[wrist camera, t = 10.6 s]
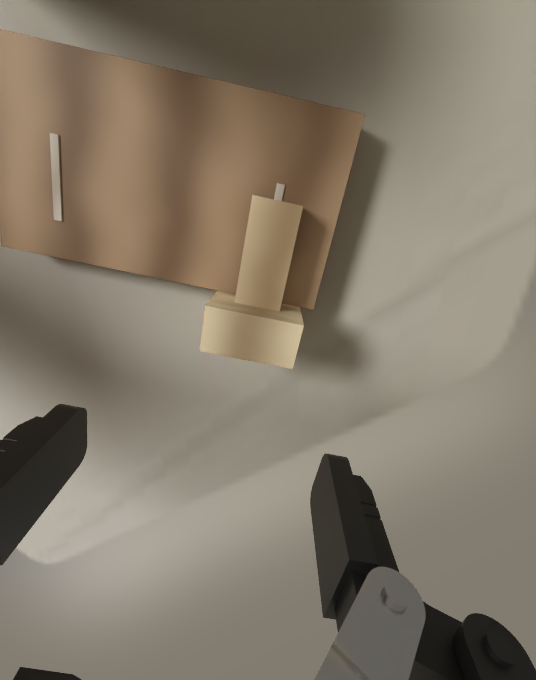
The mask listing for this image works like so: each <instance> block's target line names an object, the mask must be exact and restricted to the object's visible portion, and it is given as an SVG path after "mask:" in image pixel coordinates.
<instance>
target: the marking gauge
mask: <svg viewBox="0 0 536 680" xmlns="http://www.w3.org/2000/svg"><path fill="white" fill-rule="evenodd" d="M302 209H303V206H301V205H296V204H292V203H287V202H283V201H278V200H273V199H269V198H264V197H260V196H255V195H252V200H251V206H250V212H249V218H248V224H247V230H246V236H245V242H244V248H243V254H242V260H241V266H240V272H239V278H238V284H237V290H236V294H233V293H228V292H223V291H218V290H217V291H216V293H215V294H214V295H213V297H212V298H211V299H210V300H209V302H208V303H207V304H206V306H205V313H204V320H203V328H202V335H201V343H200V351H203V352H208V353H213V354H218V355H223V356H228V357H233V358H238V359H243V360H248V361H254V362H259V363H264V364H269V365H274V366H279V367H284V368H289V369H293V366H294V362H295V358H296V354H297V351H298V347H299V343H300V339H301V335H302V331H303V327H304V323H303V319H302V314H301V309H300V307H296V306H292V305H287V304H282V299H283V294H284V290H285V285H286V281H287V276H288V272H289V267H290V263H291V258H292V254H293V250H294V245H295V241H296V236H297V232H298V227H299V223H300V218H301V214H302Z"/></svg>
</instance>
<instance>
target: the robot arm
mask: <svg viewBox="0 0 536 680" xmlns="http://www.w3.org/2000/svg"><path fill="white" fill-rule="evenodd" d="M86 449H87V411H86V409H85V408H81V407H75V406H70V405H64V404H59V405H57V406H56V407H54V408H53V409H52V410H51V411H50V412H49V413H48V414H46V415H45V416H44V417H35V418H33V419H31V420H28V421H26V422H24V423H22V424H20V425H18V426H17V427H16V428H14V429H13V430H12V431H11V432H10V433H8V434H7V435H6V436H5V437H4V438H3V440H0V565H3V563H4V562H5V561H6V559H7V558H8V557H9V556H10V554H11V553H12V552H13V551H14V549H15V548H16V547H17V545H18V544H19V543H20V542H21V540H22V539H23V538H24V536H25V535H26V534H27V532H28V531H29V530H30V529H31V527H32V526H33V525H34V523H35V522H36V521H37V520H38V518H39V517H40V516H41V514H42V513H43V512H44V510H45V509H46V508H47V507H48V505H49V504H50V503H51V501H52V500H53V499H54V498H55V496H56V495H57V494H58V492H59V491H60V490H61V489H62V487H63V486H64V485H65V483H66V482H67V481H68V479H69V478H70V477H71V476H72V474H73V473H74V472H75V470H76V469H77V468H78V467H79V465H80V464H81V462H82V460H83V458H84V456H85V453H86ZM310 501H311V502H310V504H311V515H312V523H313V532H314V541H315V550H316V559H317V568H318V575H319V585H320V594H321V602H322V612H323V617H324V618H330V619H336V622H337V629H338V634H337V636H336V638H335V641H334V642H333V644H332V646H331V648H330V650H329V652H328V654H327V656H326V658H325V659H324V661H323V663H322V665H321V667H320V669H319V671H318V673H317V675H316V677H315V679H314V680H536V670H535V668H534V666H533V664H532V662H531V660H530V658H529V657H528V655H527V653H526V651H525V650H524V649H523V647H522V646H521V644H520V643H519V642H518V640H517V639H516V638H515V637H514V636H513V635H512V634H511V633H510V632H509V631H508V630H507V629H506V628H505V627H504V626H503V625H501V624H500V623H499V622H497V621H496V620H494V619H492V618H490V617H488V616H486V615H483V614H477V613H474V614H471V615H468V616H467V617H466V618H465V620H464V621H463V623H462V622H460V621H458V620H456V619H454V618H452V617H450V616H448V615H446V614H444V613H443V612H441V611H439V610H437V609H435V608H433V607H431V606H429V605H427V604H426V603H425V602H423V601H422V598H421V596H420V594H419V593H418V591H417V589H416V588H415V587H414V585H413V584H412V583H411V582H410V581H409V580H408V579H407V578H406V577H405V576H403V575H402V574H401V573H399V570H398V568H397V565H396V561H395V559H394V556H393V553H392V550H391V547H390V544H389V541H388V538H387V535H386V532H385V529H384V526H383V523H382V521H381V520H380V514H379V511H378V508H376V502H375V500H374V496H373V494H372V490H371V489H370V488H369V486H368V485H367V483H366V482H365V481H364V479H363V478H362V477H361V476H357V475H353V474H352V471H351V467H350V463H349V460H348V458H346V457H342V456H336V455H331V454H324V456H323V457H322V460H321V463H320V466H319V469H318V472H317V475H316V478H315V480H314V483H313V486H312V491H311V499H310ZM13 680H81V679H79V678H78V677H76V676H74V675H72V674H66V673H59V672H52V671H44V670H38V669H31V668H23V667H20V668H19V670H18V672H17V674H16V676H15V677H14V679H13Z"/></svg>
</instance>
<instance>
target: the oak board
mask: <svg viewBox="0 0 536 680" xmlns="http://www.w3.org/2000/svg"><path fill="white" fill-rule="evenodd" d="M364 117H365V114H361V113H357V112H353V111H348V110H344V109H340V108H335V107H331V106H327V105H323V104H318V103H314V102H310V101H305V100H301V99H297V98H293V97H288V96H284V95H280V94H276V93H271V92H267V91H263V90H258V89H254V88H250V87H246V86H241V85H237V84H233V83H228V82H224V81H220V80H216V79H211V78H207V77H203V76H198V75H194V74H190V73H186V72H181V71H177V70H173V69H168V68H164V67H160V66H156V65H151V64H147V63H143V62H138V61H134V60H130V59H126V58H121V57H117V56H113V55H108V54H104V53H100V52H96V51H91V50H87V49H83V48H79V47H74V46H70V45H66V44H61V43H57V42H53V41H49V40H44V39H40V38H36V37H31V36H27V35H23V34H19V33H14V32H10V31H6V30H1V29H0V236H1V246H4V247H9V248H13V249H18V250H23V251H28V252H33V253H38V254H43V255H48V256H53V257H57V258H62V259H67V260H72V261H77V262H82V263H87V264H92V265H96V266H101V267H106V268H111V269H116V270H121V271H126V272H131V273H135V274H140V275H145V276H150V277H155V278H160V279H165V280H170V281H174V282H179V283H184V284H189V285H194V286H199V287H204V288H209V289H213V290H218V291H223V292H228V293H233V294H236V290H237V284H238V278H239V272H240V266H241V260H242V254H243V248H244V242H245V236H246V230H247V224H248V218H249V212H250V206H251V200H252V195H255V196H260V197H264V198H269V199H273V200H278V201H283V202H287V203H292V204H296V205H301V206H303V209H302V214H301V218H300V223H299V227H298V232H297V236H296V241H295V245H294V250H293V254H292V258H291V263H290V267H289V272H288V276H287V281H286V285H285V290H284V294H283V299H282V304H287V305H292V306H296V307H301V308H306V309H311V310H313V309H314V305H315V302H316V298H317V294H318V290H319V287H320V283H321V279H322V275H323V272H324V268H325V264H326V260H327V256H328V253H329V249H330V245H331V241H332V238H333V234H334V230H335V226H336V223H337V219H338V215H339V211H340V207H341V204H342V200H343V196H344V192H345V189H346V185H347V181H348V177H349V174H350V170H351V166H352V162H353V158H354V155H355V151H356V147H357V143H358V140H359V136H360V132H361V128H362V125H363V121H364Z"/></svg>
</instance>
